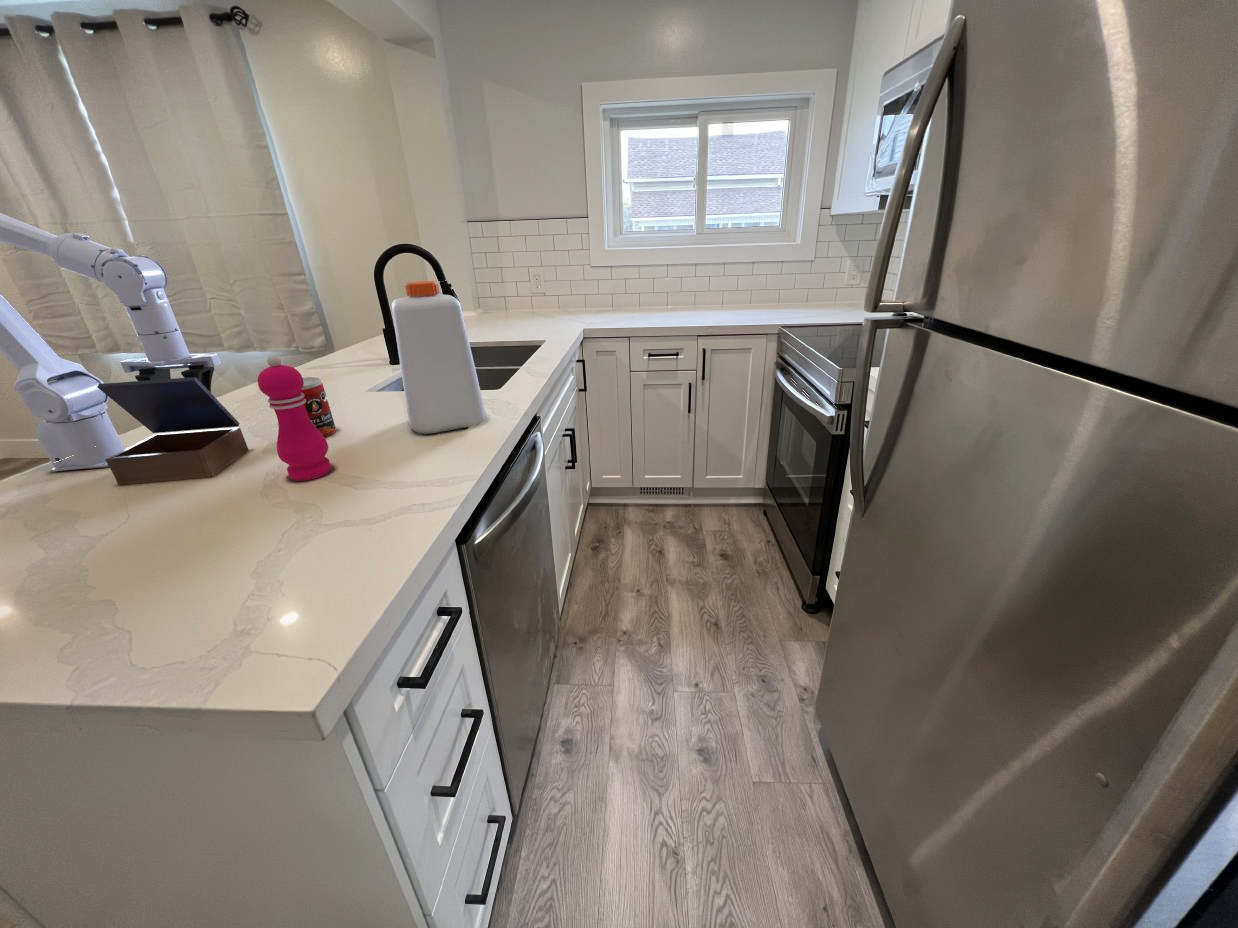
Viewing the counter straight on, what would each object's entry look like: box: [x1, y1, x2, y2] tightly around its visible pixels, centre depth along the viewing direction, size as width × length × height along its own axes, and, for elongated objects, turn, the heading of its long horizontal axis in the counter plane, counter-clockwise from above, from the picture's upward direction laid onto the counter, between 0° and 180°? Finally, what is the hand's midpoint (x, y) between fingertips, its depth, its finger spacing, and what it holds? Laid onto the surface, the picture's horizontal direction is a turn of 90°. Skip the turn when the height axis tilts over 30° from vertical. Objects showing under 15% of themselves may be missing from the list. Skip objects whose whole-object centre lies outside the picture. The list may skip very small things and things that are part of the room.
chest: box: [105, 426, 250, 486], centre depth 88 cm, size 12×15×5 cm
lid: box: [97, 377, 240, 434], centre depth 88 cm, size 12×15×5 cm
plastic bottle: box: [391, 280, 487, 435], centre depth 101 cm, size 15×15×28 cm
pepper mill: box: [257, 355, 332, 482], centre depth 80 cm, size 7×7×20 cm
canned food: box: [301, 376, 336, 439], centre depth 99 cm, size 8×8×11 cm
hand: (190, 407), depth 91 cm, fingers closed on lid, 5 cm apart
